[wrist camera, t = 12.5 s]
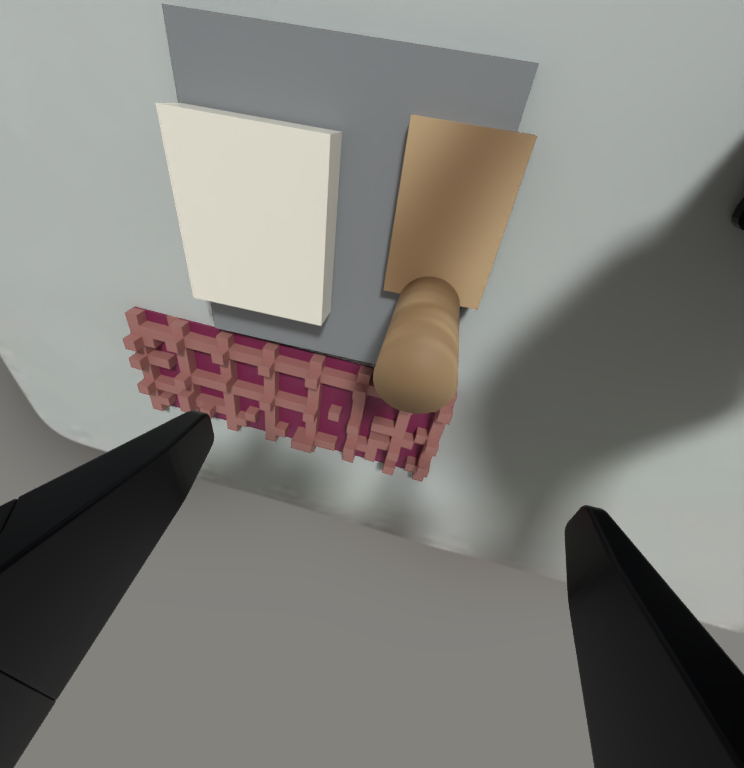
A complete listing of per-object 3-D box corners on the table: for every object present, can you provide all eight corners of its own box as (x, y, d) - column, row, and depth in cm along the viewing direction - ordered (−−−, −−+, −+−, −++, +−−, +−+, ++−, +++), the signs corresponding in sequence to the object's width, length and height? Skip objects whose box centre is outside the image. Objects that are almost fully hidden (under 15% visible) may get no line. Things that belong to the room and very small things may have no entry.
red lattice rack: (130, 299, 21) (104, 315, 19) (457, 383, 20) (456, 406, 18) (157, 393, 25) (137, 412, 24) (423, 465, 24) (420, 490, 23)
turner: (534, 134, 12) (579, 155, 7) (466, 335, 16) (466, 426, 12) (412, 114, 12) (379, 121, 7) (380, 317, 17) (348, 398, 12)
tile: (330, 134, 11) (155, 102, 12) (321, 325, 16) (193, 297, 16) (343, 131, 13) (183, 102, 13) (331, 310, 17) (212, 284, 18)
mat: (535, 64, 11) (538, 63, 11) (439, 372, 19) (438, 379, 18) (173, 7, 12) (161, 3, 12) (220, 322, 20) (215, 327, 19)
